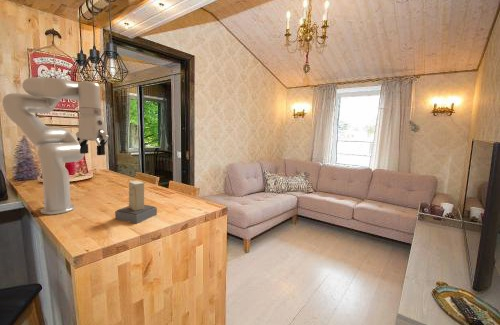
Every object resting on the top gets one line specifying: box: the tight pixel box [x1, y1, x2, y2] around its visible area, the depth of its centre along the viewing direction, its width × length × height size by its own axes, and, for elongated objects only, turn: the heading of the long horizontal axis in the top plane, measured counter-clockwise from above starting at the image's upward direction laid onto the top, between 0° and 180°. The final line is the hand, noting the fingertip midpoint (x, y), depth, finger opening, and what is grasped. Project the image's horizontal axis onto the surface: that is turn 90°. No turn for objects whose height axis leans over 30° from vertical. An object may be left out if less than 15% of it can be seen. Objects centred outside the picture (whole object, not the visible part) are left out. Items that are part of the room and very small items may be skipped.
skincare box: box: [128, 180, 145, 211], centre depth 107 cm, size 6×4×12 cm
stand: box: [114, 204, 158, 225], centre depth 108 cm, size 12×12×4 cm
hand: (92, 154), depth 100 cm, fingers open, 9 cm apart
